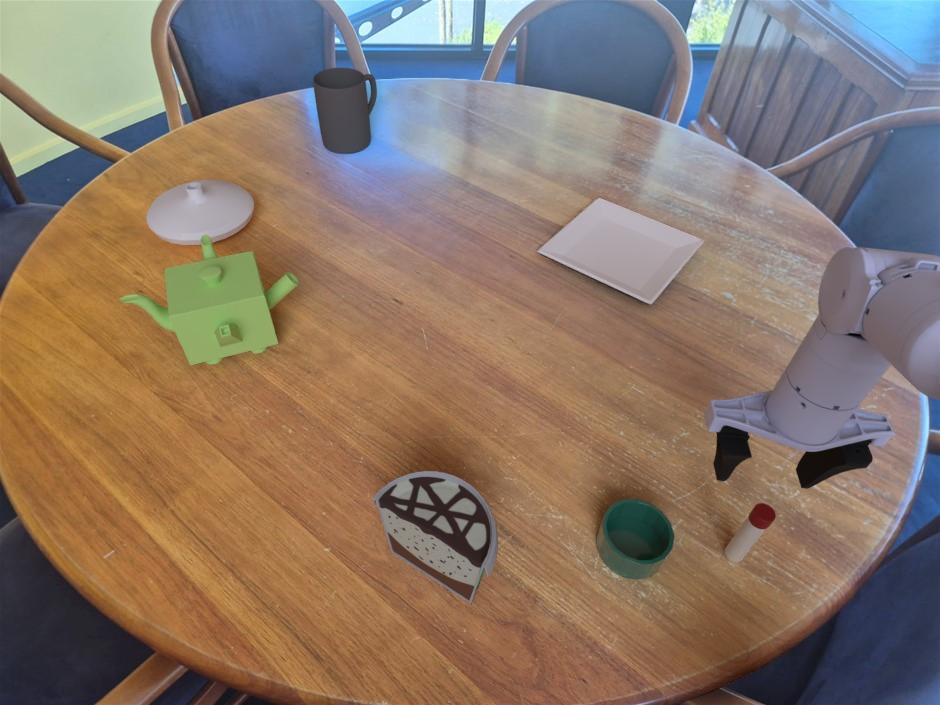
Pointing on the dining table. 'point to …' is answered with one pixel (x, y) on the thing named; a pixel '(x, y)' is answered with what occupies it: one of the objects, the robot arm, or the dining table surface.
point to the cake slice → (440, 529)
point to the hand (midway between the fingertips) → (760, 475)
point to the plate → (622, 249)
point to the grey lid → (200, 212)
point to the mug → (344, 108)
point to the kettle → (218, 305)
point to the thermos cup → (634, 538)
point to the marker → (750, 532)
